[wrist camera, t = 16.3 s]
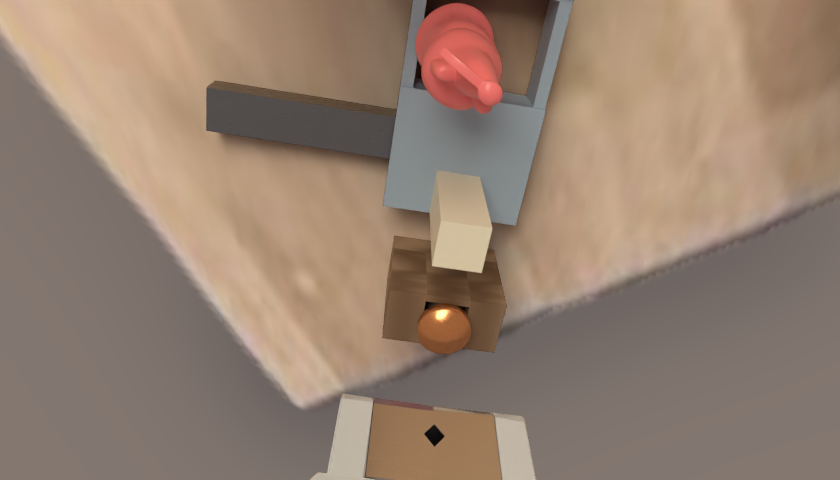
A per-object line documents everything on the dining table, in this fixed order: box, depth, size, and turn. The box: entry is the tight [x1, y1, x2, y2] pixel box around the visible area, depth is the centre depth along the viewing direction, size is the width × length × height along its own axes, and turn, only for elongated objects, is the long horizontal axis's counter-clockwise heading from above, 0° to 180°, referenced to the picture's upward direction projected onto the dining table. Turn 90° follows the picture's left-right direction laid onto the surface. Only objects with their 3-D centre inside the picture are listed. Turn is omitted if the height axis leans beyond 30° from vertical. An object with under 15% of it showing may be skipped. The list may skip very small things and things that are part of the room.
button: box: [418, 302, 471, 354], centre depth 44 cm, size 4×4×7 cm
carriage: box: [383, 0, 574, 273], centre depth 38 cm, size 10×16×11 cm, turn 171°
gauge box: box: [382, 236, 507, 353], centre depth 46 cm, size 8×4×8 cm, turn 81°
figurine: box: [415, 3, 503, 114], centre depth 34 cm, size 5×5×15 cm
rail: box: [206, 81, 397, 159], centre depth 43 cm, size 22×3×2 cm, turn 81°
